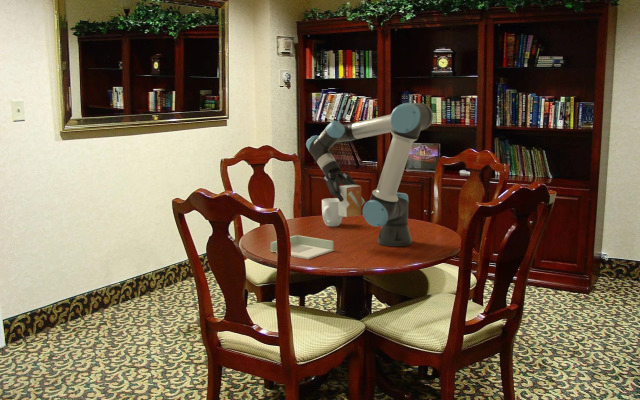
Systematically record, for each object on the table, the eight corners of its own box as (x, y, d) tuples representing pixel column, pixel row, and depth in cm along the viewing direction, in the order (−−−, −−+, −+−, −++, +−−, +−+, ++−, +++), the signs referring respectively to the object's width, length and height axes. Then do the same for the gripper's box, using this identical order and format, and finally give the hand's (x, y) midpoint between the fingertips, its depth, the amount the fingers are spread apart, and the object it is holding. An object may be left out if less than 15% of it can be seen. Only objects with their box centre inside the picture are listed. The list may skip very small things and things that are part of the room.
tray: (333, 250, 287) (333, 240, 286) (308, 259, 273) (308, 249, 272) (296, 244, 299) (296, 235, 298) (270, 252, 284) (270, 242, 283)
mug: (333, 229, 329) (333, 203, 327) (314, 227, 335) (314, 201, 333) (347, 224, 342) (347, 199, 340) (328, 222, 348) (328, 197, 345)
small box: (346, 217, 287) (346, 187, 285) (338, 215, 292) (337, 185, 290) (361, 215, 291) (361, 185, 289) (353, 213, 296) (353, 184, 294)
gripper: (341, 169, 307) (367, 207, 298) (307, 173, 292) (333, 213, 283) (350, 158, 302) (376, 196, 294) (315, 162, 288) (342, 202, 279)
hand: (355, 205), depth 288 cm, fingers closed on small box, 9 cm apart
